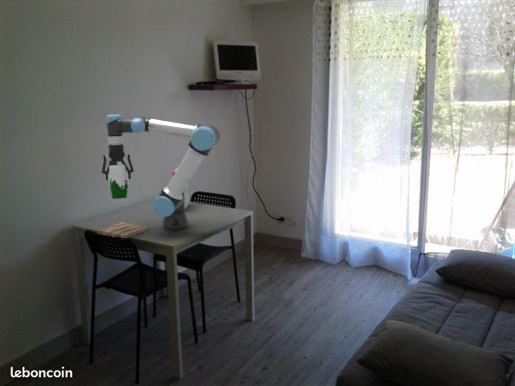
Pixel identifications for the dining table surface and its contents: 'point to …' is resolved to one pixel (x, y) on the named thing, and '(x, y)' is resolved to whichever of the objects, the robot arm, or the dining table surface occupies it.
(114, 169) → the soya milk
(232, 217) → the dining table surface
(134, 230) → the wooden cutting board
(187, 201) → the game box
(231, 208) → the dining table surface
